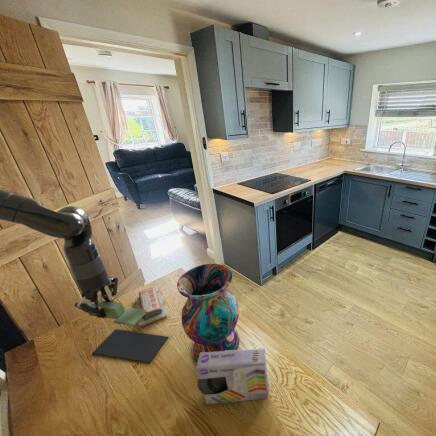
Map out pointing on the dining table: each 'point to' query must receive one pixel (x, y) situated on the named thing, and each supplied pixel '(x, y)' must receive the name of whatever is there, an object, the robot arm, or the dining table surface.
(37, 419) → the dining table surface
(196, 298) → the vase
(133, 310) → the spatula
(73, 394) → the dining table surface
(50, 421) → the dining table surface
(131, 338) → the mat
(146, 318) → the packaged product
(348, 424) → the dining table surface
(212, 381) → the cake pan box
